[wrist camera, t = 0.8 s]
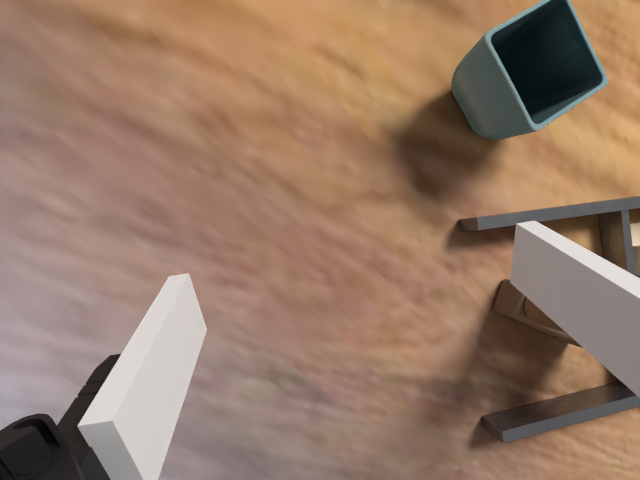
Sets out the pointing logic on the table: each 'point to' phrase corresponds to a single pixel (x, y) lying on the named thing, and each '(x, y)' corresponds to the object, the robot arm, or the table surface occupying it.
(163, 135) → the table surface
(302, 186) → the table surface
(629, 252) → the tray
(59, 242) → the table surface
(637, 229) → the offcut stack
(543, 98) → the flower pot
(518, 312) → the wooden block
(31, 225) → the table surface
